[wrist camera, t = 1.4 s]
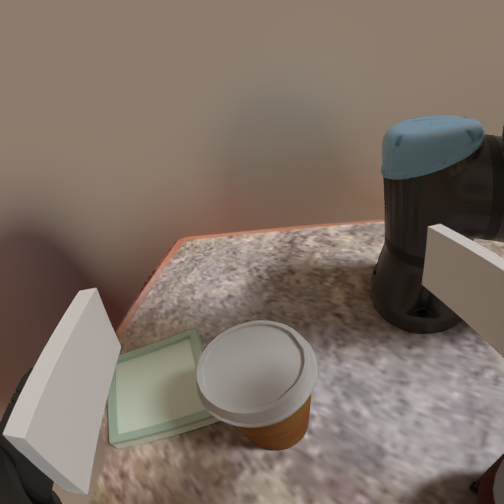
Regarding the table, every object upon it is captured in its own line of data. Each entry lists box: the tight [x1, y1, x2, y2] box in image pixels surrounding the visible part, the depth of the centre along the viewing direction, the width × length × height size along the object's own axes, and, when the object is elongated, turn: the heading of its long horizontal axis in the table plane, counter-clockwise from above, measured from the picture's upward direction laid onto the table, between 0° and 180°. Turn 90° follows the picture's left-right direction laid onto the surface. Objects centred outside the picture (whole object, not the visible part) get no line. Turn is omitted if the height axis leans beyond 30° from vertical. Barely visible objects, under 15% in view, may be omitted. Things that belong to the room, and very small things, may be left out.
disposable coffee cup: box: [196, 320, 318, 451], centre depth 25 cm, size 10×10×12 cm
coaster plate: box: [108, 328, 221, 449], centre depth 34 cm, size 14×14×2 cm
